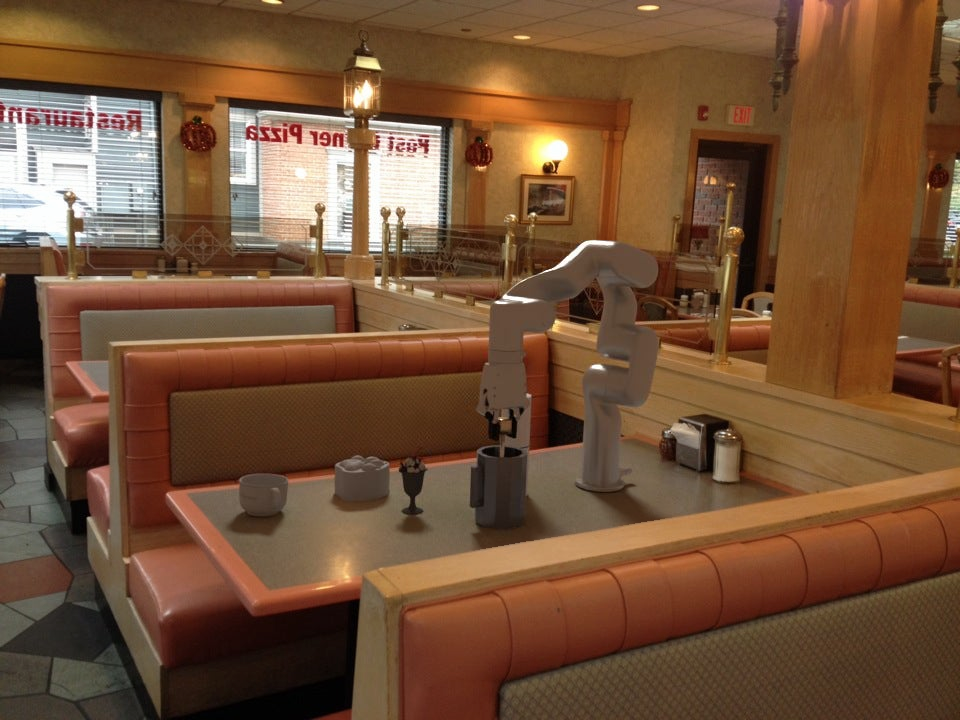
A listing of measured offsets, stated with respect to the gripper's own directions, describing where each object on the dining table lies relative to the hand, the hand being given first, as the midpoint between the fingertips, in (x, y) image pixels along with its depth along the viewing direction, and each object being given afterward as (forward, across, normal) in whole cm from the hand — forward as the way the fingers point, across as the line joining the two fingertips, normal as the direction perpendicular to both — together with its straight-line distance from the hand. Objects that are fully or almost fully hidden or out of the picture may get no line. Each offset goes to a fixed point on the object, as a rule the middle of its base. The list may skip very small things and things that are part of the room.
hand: (502, 437), depth 194 cm
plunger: (+17, 0, 0) cm, 17 cm away
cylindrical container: (+19, -14, -14) cm, 28 cm away
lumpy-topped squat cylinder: (+20, +18, -32) cm, 42 cm away
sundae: (+19, +14, -15) cm, 28 cm away
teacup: (+20, +44, -29) cm, 56 cm away
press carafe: (+19, +1, 0) cm, 19 cm away
